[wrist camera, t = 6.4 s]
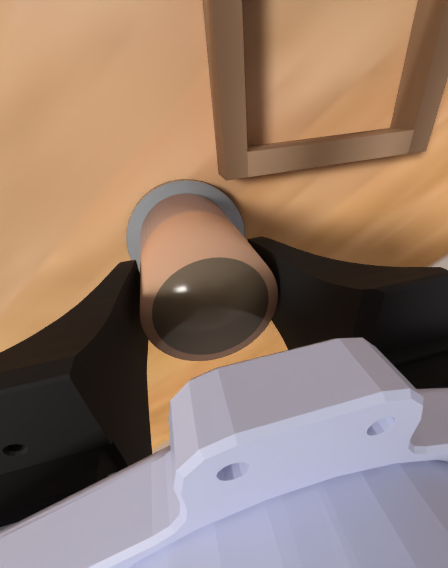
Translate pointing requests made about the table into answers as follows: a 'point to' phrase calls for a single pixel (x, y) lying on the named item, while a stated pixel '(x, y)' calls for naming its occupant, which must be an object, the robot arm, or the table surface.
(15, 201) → the table surface
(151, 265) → the clay pot
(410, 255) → the table surface
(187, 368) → the table surface
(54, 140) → the table surface
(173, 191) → the glossy gray dome
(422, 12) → the frame
